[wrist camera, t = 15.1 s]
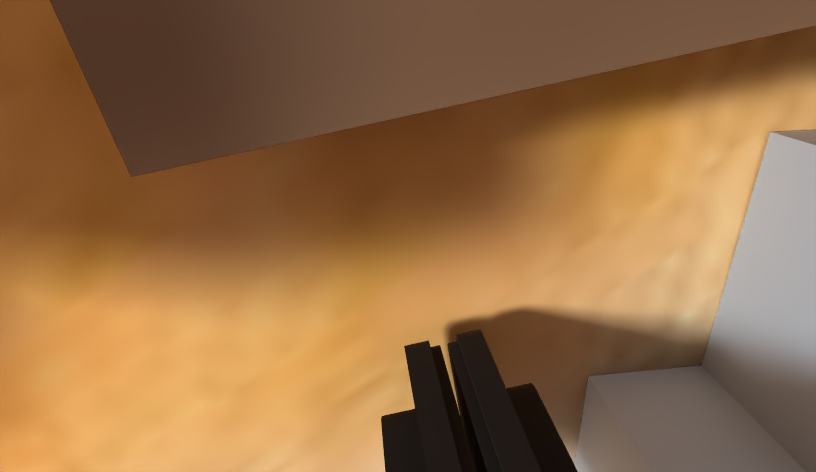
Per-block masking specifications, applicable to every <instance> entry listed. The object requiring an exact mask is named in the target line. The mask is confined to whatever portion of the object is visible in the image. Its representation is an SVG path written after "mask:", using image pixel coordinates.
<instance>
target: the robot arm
mask: <svg viewBox="0 0 816 472" xmlns="http://www.w3.org/2000/svg"><path fill="white" fill-rule="evenodd" d="M448 351H449V356H450V362H451V367H452V373H453V379H454V384H455V390H456V395H457V401H458V407H459V411H458V407H457V404H456V400H455V396H454V393H453V389H452V386H451V382H450V379H449V375H448V372H447V368H446V365H445V361H444V358H443V354H442V351H441V347H440V345H439V346H434V347H430V344H429V341H425V342H420V343H416V344H411V345H407V346H405V353H406V358H407V364H408V370H409V376H410V381H411V387H412V393H413V398H414V404H415V409H412V410H408V411H403V412H399V413H394V414H390V415H385V416H382V418H381V423H382V436H383V448H384V459H385V471H386V472H578V471H577V469H576V467H575V465H574V463H573V461H572V459H571V457H570V455H569V453H568V451H567V449H566V447H565V445H564V443H563V442H562V440H561V438H560V436H559V434H558V432H557V430H556V428H555V426H554V424H553V422H552V420H551V418H550V416H549V414H548V412H547V410H546V408H545V406H544V404H543V402H542V400H541V398H540V396H539V394H538V392H537V390H536V389H535V387H534V385H533V384H531V383H529V384H524V385H520V386H515V387H511V388H505V385H504V383H503V381H502V378H501V376H500V374H499V371H498V369H497V367H496V364H495V362H494V360H493V357H492V355H491V352H490V350H489V348H488V345H487V343H486V341H485V338H484V336H483V334H482V332H481V330H475V331H471V332H466V333H461V334H457V335H456V342H452V343H448ZM459 412H460V414H459Z"/></svg>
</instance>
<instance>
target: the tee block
mask: <svg viewBox="0 0 816 472" xmlns="http://www.w3.org/2000/svg"><path fill="white" fill-rule="evenodd" d="M574 465H575V467H576V469H577V471H578V472H816V130H797V131H777V132H770V135H769V138H768V142H767V145H766V148H765V152H764V155H763V159H762V162H761V165H760V169H759V172H758V175H757V179H756V182H755V186H754V189H753V192H752V196H751V199H750V203H749V206H748V209H747V213H746V216H745V219H744V223H743V226H742V230H741V233H740V236H739V240H738V243H737V246H736V250H735V253H734V257H733V260H732V263H731V267H730V270H729V274H728V277H727V280H726V284H725V287H724V290H723V294H722V297H721V301H720V304H719V307H718V311H717V314H716V317H715V321H714V324H713V328H712V331H711V334H710V338H709V341H708V345H707V348H706V351H705V355H704V358H703V361H702V365H699V366H689V367H679V368H668V369H658V370H647V371H637V372H626V373H616V374H606V375H595V376H589V378H588V384H587V390H586V396H585V402H584V408H583V414H582V420H581V426H580V432H579V438H578V444H577V450H576V456H575V462H574Z"/></svg>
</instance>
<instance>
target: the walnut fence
mask: <svg viewBox="0 0 816 472" xmlns="http://www.w3.org/2000/svg"><path fill="white" fill-rule="evenodd" d="M50 2H51V4H52V6H53V8H54V10H55V13H56V15H57V17H58V19H59V21H60V23H61V26H62V28H63V30H64V32H65V34H66V36H67V39H68V41H69V43H70V45H71V47H72V50H73V52H74V54H75V56H76V58H77V60H78V63H79V65H80V67H81V69H82V71H83V73H84V76H85V78H86V80H87V82H88V84H89V86H90V89H91V91H92V93H93V95H94V97H95V100H96V102H97V104H98V106H99V108H100V110H101V113H102V115H103V117H104V119H105V121H106V123H107V126H108V128H109V130H110V132H111V134H112V136H113V139H114V141H115V143H116V145H117V147H118V150H119V152H120V154H121V156H122V158H123V160H124V163H125V165H126V167H127V169H128V171H129V173H130V176H131V177H133V176H137V175H142V174H146V173H151V172H155V171H160V170H164V169H169V168H173V167H178V166H182V165H187V164H192V163H196V162H201V161H205V160H210V159H214V158H219V157H223V156H228V155H232V154H237V153H241V152H246V151H250V150H255V149H259V148H264V147H268V146H273V145H277V144H282V143H287V142H291V141H296V140H300V139H305V138H309V137H314V136H318V135H323V134H327V133H332V132H336V131H341V130H345V129H350V128H354V127H359V126H363V125H368V124H373V123H377V122H382V121H386V120H391V119H395V118H400V117H404V116H409V115H413V114H418V113H422V112H427V111H431V110H436V109H440V108H445V107H449V106H454V105H459V104H463V103H468V102H472V101H477V100H481V99H486V98H490V97H495V96H499V95H504V94H508V93H513V92H517V91H522V90H526V89H531V88H535V87H540V86H544V85H549V84H554V83H558V82H563V81H567V80H572V79H576V78H581V77H585V76H590V75H594V74H599V73H603V72H608V71H612V70H617V69H621V68H626V67H630V66H635V65H640V64H644V63H649V62H653V61H658V60H662V59H667V58H671V57H676V56H680V55H685V54H689V53H694V52H698V51H703V50H707V49H712V48H716V47H721V46H725V45H730V44H735V43H739V42H744V41H748V40H753V39H757V38H762V37H766V36H771V35H775V34H780V33H784V32H789V31H793V30H798V29H802V28H807V27H811V26H816V0H50Z"/></svg>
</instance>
